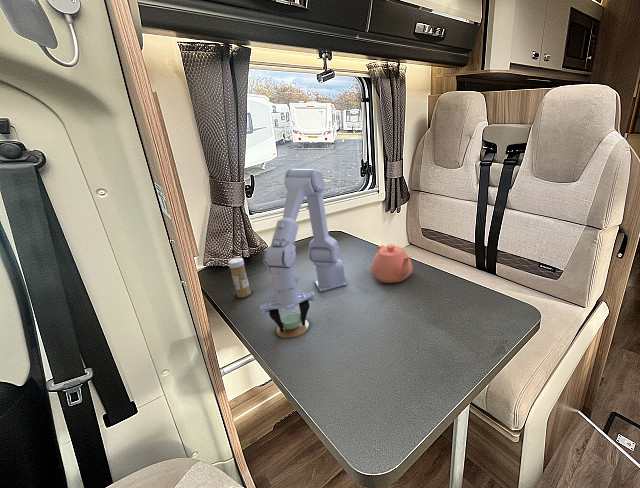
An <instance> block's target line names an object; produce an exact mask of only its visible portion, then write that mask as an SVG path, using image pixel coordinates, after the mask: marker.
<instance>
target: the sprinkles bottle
mask: <svg viewBox="0 0 640 488" xmlns="http://www.w3.org/2000/svg"><path fill="white" fill-rule="evenodd" d="M227 263H228V267H229V269H230V273H231V278H232V281H233V286H234V289H235V291H236V297H237V298H242V299H243V298H246V297H248V296H250V295H251V294H252V291H251V288H250V284H249V279H248V275H247V272H246V268H245V261H244V258H242V257H233V258H231V259H230V260H228V262H227Z"/></svg>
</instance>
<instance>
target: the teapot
mask: <svg viewBox="0 0 640 488" xmlns="http://www.w3.org/2000/svg"><path fill="white" fill-rule="evenodd" d="M370 273H371V274H372V276H373V277H374V278H375V279H376V280H378V281H380V282H382V283H386V284H396V283H401V282H403V281H405V280H407V279H408V278H409V277H410V276H411V274H412V273H413V263H412V260H411V256H409V255H408V253H407V252H406V250H405V249H404V248H402V247H401V246H399V245H395V244H387V245H386V246H385V245H384V244H380V245H378V246H377V251H376V254H375V255H374V257H373V260H372V261H371V266H370Z"/></svg>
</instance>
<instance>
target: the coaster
mask: <svg viewBox="0 0 640 488" xmlns="http://www.w3.org/2000/svg"><path fill="white" fill-rule="evenodd" d="M309 326H310V325H309V321H308V320H307V319H306V320H305V325H302V323H301V325H299V326H298V327H296V328H293V329H285V328H283V331H284V332H281V330H280V328H279V326H278V325H277V327H276V335H277V336H278V337H279V338H282V339H293V338H296V337H299V336H301V335H303V334H304V333H305V332H307V330H308V329H309V328H310V327H309Z"/></svg>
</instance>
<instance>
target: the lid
mask: <svg viewBox="0 0 640 488" xmlns="http://www.w3.org/2000/svg"><path fill="white" fill-rule="evenodd" d="M280 319H281V323H282V327H283V328H285V329H293V328H296V327H298V326H299V325H301V323H302V317H301V314H300V312H297V311H296V312H295V311H294V312H288V313H286V314H284V315H283V316H282V317H280Z"/></svg>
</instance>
